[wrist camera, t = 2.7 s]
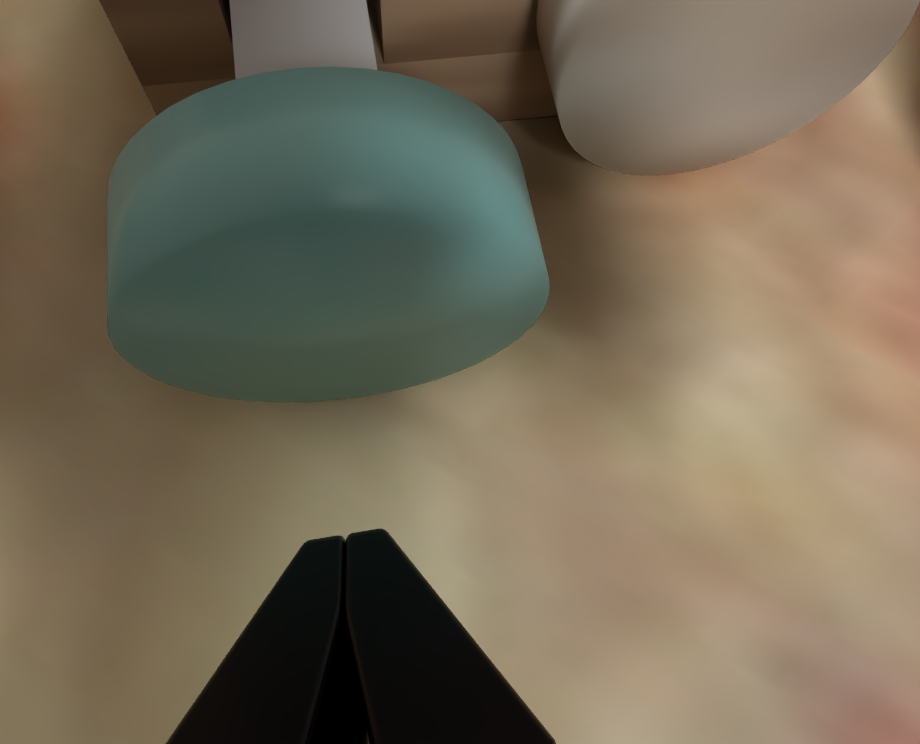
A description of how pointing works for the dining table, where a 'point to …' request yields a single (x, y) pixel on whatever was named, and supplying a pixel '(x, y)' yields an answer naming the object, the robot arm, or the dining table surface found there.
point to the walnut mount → (580, 64)
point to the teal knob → (318, 223)
